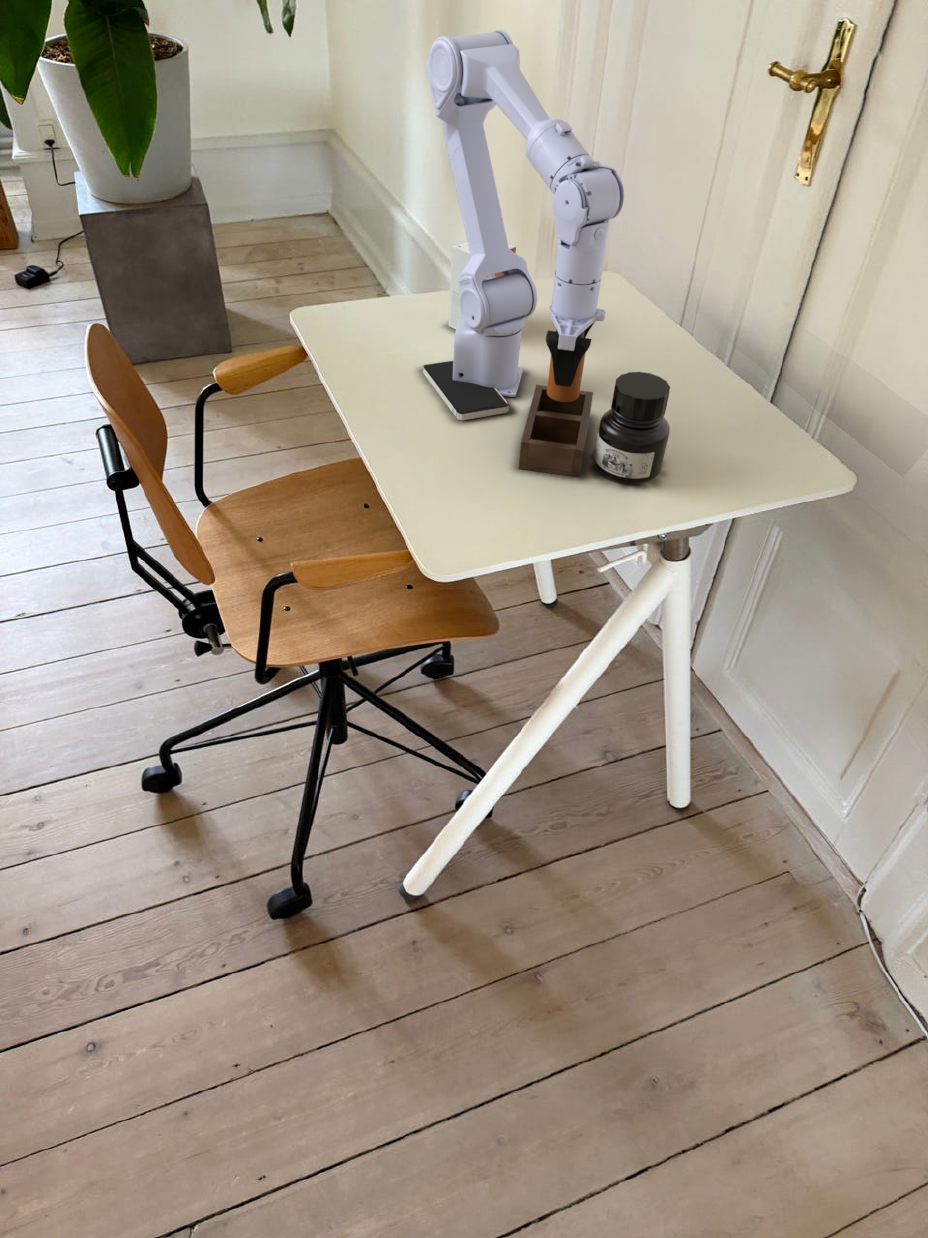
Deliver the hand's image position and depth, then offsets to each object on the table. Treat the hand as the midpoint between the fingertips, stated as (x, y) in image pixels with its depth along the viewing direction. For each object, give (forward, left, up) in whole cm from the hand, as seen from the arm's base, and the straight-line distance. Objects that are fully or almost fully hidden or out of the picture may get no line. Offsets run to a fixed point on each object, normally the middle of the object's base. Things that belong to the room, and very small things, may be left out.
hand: (565, 375), depth 123 cm
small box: (-16, +28, -8) cm, 33 cm away
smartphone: (-15, +7, -8) cm, 18 cm away
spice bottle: (0, 0, -3) cm, 3 cm away
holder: (0, -3, -8) cm, 9 cm away
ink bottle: (+10, -7, -8) cm, 15 cm away
